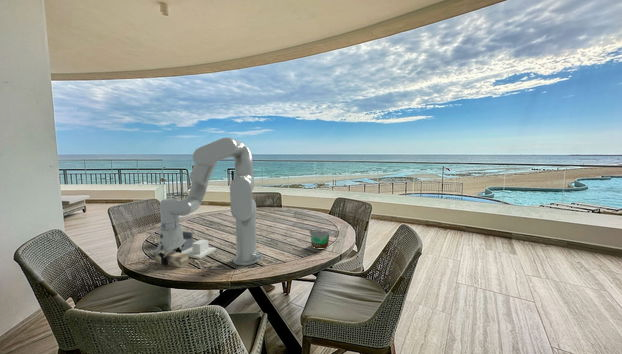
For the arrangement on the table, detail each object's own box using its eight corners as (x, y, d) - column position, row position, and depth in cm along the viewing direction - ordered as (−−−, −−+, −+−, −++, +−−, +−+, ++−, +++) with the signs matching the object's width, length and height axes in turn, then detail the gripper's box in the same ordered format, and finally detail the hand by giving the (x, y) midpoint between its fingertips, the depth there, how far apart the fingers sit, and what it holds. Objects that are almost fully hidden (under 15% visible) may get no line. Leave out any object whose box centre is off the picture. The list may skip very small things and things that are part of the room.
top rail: (188, 264, 111) (188, 254, 111) (181, 267, 107) (181, 257, 107) (163, 259, 116) (162, 250, 115) (155, 263, 112) (155, 253, 112)
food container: (306, 249, 129) (306, 231, 129) (309, 245, 135) (309, 228, 134) (328, 251, 126) (329, 233, 126) (330, 247, 132) (330, 230, 132)
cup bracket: (216, 249, 128) (215, 233, 127) (199, 258, 116) (199, 241, 116) (182, 244, 135) (181, 229, 134) (163, 252, 124) (162, 236, 123)
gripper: (159, 231, 101) (161, 270, 102) (191, 221, 117) (192, 255, 119) (146, 229, 103) (148, 268, 104) (179, 219, 119) (180, 253, 121)
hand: (171, 261), depth 111 cm, fingers open, 7 cm apart
